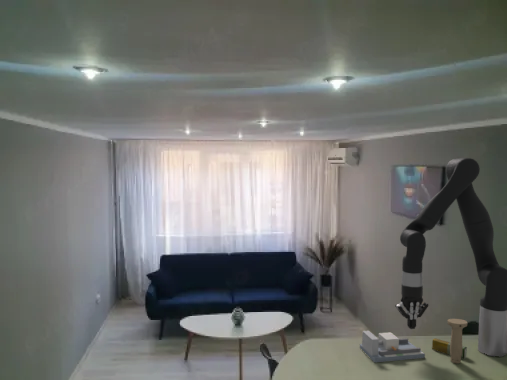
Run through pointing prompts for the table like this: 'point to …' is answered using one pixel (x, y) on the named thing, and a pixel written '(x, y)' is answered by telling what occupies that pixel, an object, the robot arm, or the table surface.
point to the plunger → (388, 341)
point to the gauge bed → (380, 355)
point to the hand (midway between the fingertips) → (411, 328)
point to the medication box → (446, 347)
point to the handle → (456, 339)
